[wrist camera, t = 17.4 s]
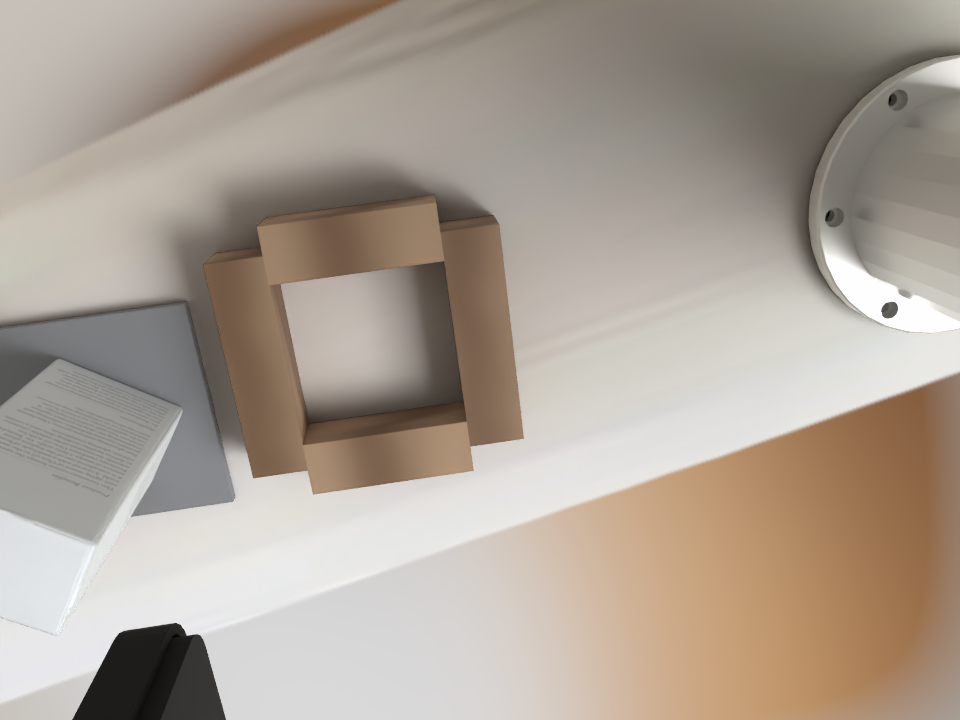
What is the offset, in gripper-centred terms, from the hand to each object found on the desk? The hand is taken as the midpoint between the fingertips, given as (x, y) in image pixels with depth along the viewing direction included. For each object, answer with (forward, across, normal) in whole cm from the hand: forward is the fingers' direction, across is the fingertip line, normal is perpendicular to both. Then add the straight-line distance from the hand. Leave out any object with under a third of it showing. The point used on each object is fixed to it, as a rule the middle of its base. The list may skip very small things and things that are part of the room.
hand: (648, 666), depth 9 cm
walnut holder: (+30, +5, +5) cm, 31 cm away
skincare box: (+30, +18, +7) cm, 35 cm away
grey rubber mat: (+30, +18, +7) cm, 36 cm away
